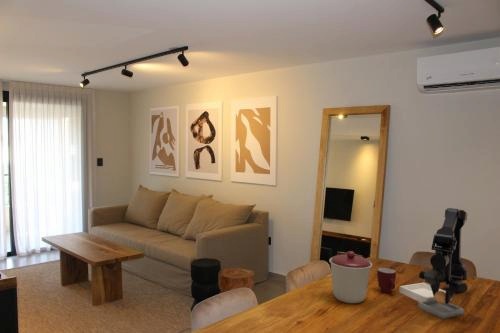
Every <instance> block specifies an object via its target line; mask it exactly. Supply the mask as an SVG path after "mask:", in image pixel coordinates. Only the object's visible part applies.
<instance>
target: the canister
mask: <svg viewBox="0 0 500 333" xmlns="http://www.w3.org/2000/svg"><path fill="white" fill-rule="evenodd" d="M329 263H330V269H331V270H330V271H331V284H332V285H331V286H332V287H331V288H332V293H333V295H334V297H335V299H336V300H338V301H340V302H342V303H343V302H344V303H346V304H359V303H362V302H363V301H364V300H365V298H366V296H367V292H368V287H369V286H368V285H369V279H370V274H371V268H372V267H373V263H372V262H371V261H370V260H369V259H367V258H366V257H363V256H359V255H356V253H355V252H354V251H352V250H349V251H347V252H346V254H338V255H334V256H332V257H330V258H329Z"/></svg>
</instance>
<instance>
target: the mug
mask: <svg viewBox="0 0 500 333" xmlns="http://www.w3.org/2000/svg"><path fill="white" fill-rule="evenodd" d="M376 271H377V274H376V276H377V282H378V288H379V289H380V291H381V293H384V294H390V293H391V292H392V291H393V290H395V288H396V283H395V282H396V278H397V271H396V270H395V269H393V268H388V267H379V268H377V270H376Z"/></svg>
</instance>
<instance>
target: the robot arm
mask: <svg viewBox="0 0 500 333" xmlns="http://www.w3.org/2000/svg"><path fill="white" fill-rule="evenodd" d="M466 221H468V212H466V211H465V209H458V208H453V207H449V208H446V209H445V211H444V221H443V224H442V226H441V228H439V229H437V231H436V233H435V234H434V235H433V239H432V245H431V247H430V248H431V250H432V251H434V252H435V253H434V254H433V255H432V256H431V257H430V258H429V259H430V260H429V262H430V265H431V267H432V268H431V269H426V270H421V271H420V272H419V274H418V277H419V279H422V280H424V281H425V282H424V283H426V284H429V285H430V287H431V289H432V292H433V296H435V293H436V292H438V291H439V289H440V285H441V283H442V284H444V285H446V287H443V289H444V291H446V295H445V303H446V304H448V303H450V300H451V298H452V299H453V296H454V294H461V293H465V292H467V291H468V285H467V283H466V282H465V281H467V280H468V273H467V269H466V267H465V261H464V260H463V259H462V257H461V256H462V255H461V254H462V252H461V250H462V228H463V227H464V225H465V223H466ZM434 299H435V297H434ZM451 301H452V300H451Z"/></svg>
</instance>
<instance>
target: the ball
mask: <svg viewBox="0 0 500 333" xmlns="http://www.w3.org/2000/svg"><path fill="white" fill-rule="evenodd" d="M445 295H446V293H445V292H443V291H438V292H436V293H435V296H434V297H435V300H436V301H437V302H438V303H440V304H445Z"/></svg>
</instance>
